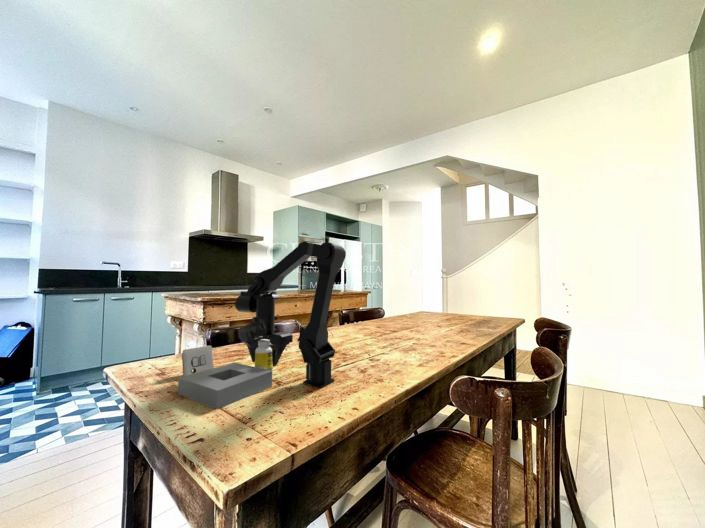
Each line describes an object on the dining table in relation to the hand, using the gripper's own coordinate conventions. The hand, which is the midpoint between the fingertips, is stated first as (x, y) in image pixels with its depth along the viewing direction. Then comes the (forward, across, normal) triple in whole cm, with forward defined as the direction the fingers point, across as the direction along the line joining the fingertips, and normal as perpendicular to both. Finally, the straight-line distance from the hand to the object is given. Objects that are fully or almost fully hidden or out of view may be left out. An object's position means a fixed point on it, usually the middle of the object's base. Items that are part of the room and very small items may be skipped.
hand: (264, 363), depth 87 cm
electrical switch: (+3, -16, -12) cm, 20 cm away
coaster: (+3, +24, -19) cm, 31 cm away
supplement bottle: (+3, 0, 0) cm, 3 cm away
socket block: (+3, +3, -15) cm, 16 cm away
